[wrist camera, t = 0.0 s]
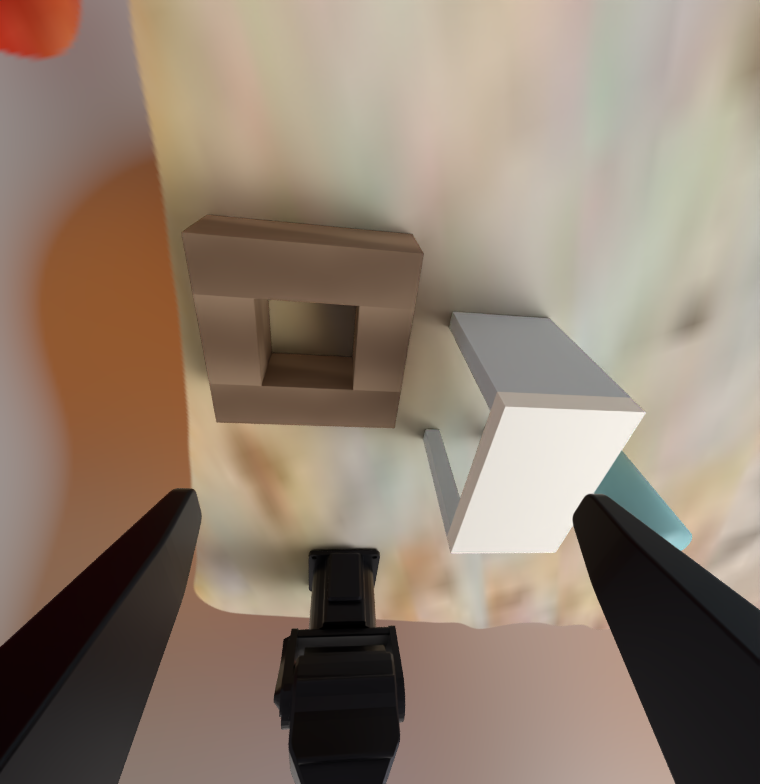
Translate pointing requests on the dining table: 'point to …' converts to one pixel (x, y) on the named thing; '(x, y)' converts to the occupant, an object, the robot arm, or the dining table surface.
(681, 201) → the dining table surface
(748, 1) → the dining table surface
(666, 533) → the peg
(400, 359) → the socket
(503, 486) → the small white footstool
